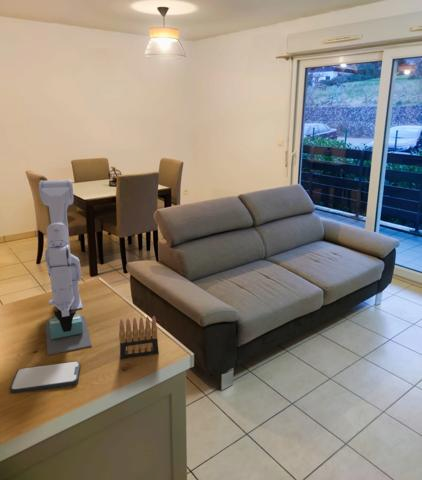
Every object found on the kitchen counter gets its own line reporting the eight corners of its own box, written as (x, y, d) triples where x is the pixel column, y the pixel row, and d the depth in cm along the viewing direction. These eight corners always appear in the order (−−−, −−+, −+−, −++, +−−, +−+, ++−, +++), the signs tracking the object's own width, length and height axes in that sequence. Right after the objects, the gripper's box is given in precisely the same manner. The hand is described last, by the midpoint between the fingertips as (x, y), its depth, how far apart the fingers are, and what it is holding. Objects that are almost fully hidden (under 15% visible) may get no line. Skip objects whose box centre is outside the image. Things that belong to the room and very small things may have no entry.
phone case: (9, 396, 94) (78, 386, 97) (8, 391, 94) (77, 381, 97) (18, 373, 102) (81, 364, 106) (17, 368, 102) (80, 359, 105)
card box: (81, 324, 122) (80, 313, 121) (83, 332, 118) (81, 321, 116) (50, 330, 118) (49, 318, 117) (51, 339, 114) (49, 327, 113)
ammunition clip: (157, 350, 112) (156, 313, 108) (158, 353, 110) (157, 316, 106) (120, 355, 109) (117, 318, 105) (120, 359, 108) (117, 321, 104)
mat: (45, 324, 124) (45, 322, 124) (84, 316, 129) (84, 315, 128) (47, 355, 108) (47, 354, 108) (91, 346, 113) (91, 345, 113)
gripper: (46, 278, 118) (51, 317, 122) (47, 298, 105) (53, 341, 110) (70, 274, 120) (74, 313, 125) (75, 294, 108) (79, 336, 112)
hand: (66, 326), depth 117 cm, fingers closed on card box, 5 cm apart
